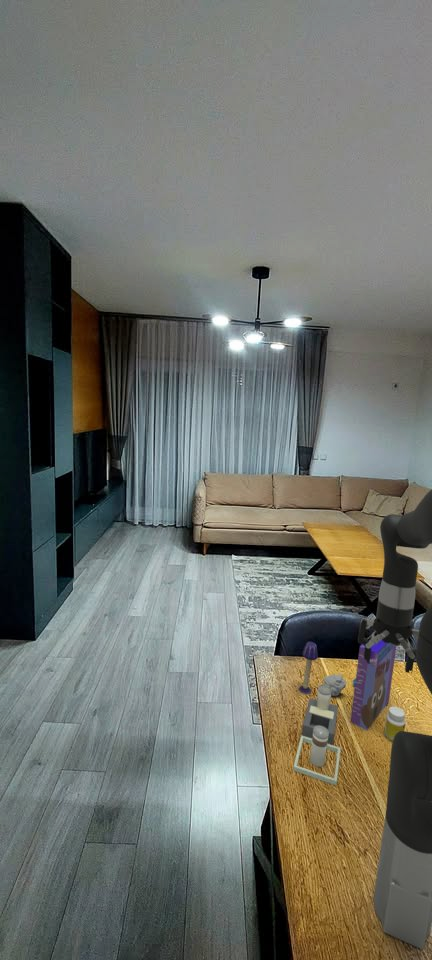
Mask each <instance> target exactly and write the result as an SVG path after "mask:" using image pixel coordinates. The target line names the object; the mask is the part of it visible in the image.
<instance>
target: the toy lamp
mask: <svg viewBox="0 0 432 960" xmlns="http://www.w3.org/2000/svg"><path fill="white" fill-rule="evenodd" d="M301 653H302V654H301V655H302V657H304V658H305V659H306V661H305V669H304V675H303V683H302V685H300V686H299V688H298V691H299V692H300V693H301V694H304V695H309V694H311V693H312V689H311V688H310V687H309V683H310V679H311V670H312V664H313V662H312V661H315V660H317V659H318V658H319V656H318V654H319V653H318V648H317V644H316V643H315V642H313V641H307V642H306V643H305V646H304V648H303V650H302V652H301Z"/></svg>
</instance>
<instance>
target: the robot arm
mask: <svg viewBox="0 0 432 960" xmlns="http://www.w3.org/2000/svg"><path fill="white" fill-rule="evenodd" d="M379 528H380V529H379V530H380V536H381V541H382V547H383V555H384V556H383V557H384V558H383V559H384V561H383V570H382V572H383V573H382V579H381V584H380V586H379V592H378V600H377V607H376V608H377V609H376V614H375V615H376V617H375V618H374V619H368V617H367V616H365V615H363V616H362V617H361V620H360V625H359V630H358V635H357V643H358V644H360V645H362V644H363V645H364V646H365V651H364V659H365V660H367V661H366V662H367V663H370V656H371V647H372V646H373V645H374V644H377V643H378V642H379V641H381V640H382V641H383V642H385V643H392V644H394V645H397V646H399V645H401V646H402V648H403V650H404V651H405V652H406V659H405V664H404V665H405V667H404V668H405V669H404V671H405V673H407V674H410V672H413V669H414V663H415V661H416V666H417V669H418V671H419V674H420V675H421V679H422V680H423V682H424V683H425V685H426V687H427V689H428V691H429V693H430V694H431V696H432V604H431V605H430V607H428V608H427V610H426V612H425V613H424V615H423V616H422V618H421V620H420V623H419V628H418V629H415V628H413V627H412V622H413V614H414V609H415V600H416V583H417V579H418V571H419V563H418V562H417V560H416V559H415V558H413V557H410V556H407V555H405V554H403V553H400V552H398V551H397V547H401V548H408V549H409V548H410V549H411V548H412V549H427V548H428V547H429V545H431V544H432V489H431V490H429V491H428V492H427V493H426V494H425V495H424V497H423V498H422V499H421V501H420V502H419V503H418V504H417V506H416V508H415V509H414V510H411V511H410V512H407V513H405V514H403V515H401V514H393V513H390V514H387V515H385V516H384V517H383V519H382V520H381V522H380V526H379ZM371 626H372V627H373V629H374V632H372V633H371V635H370V636H369V637H367V638H366V637H365V635H366V630H368V629H370V627H371ZM412 636H413V637H415V640H416V641H417V643H416V649H414V648H413V646H412V645H411V643H410V641H409V638H411V637H412ZM391 743H392V744H391V750H390V760H389V761H390V762H389V764H390V765H389V775H388V785H387V795H386V796H387V797H386V808H385V809H386V810H385V815H384V823H383V831H382V837H381V844H380V850H379V851H380V852H379V857H378V858H379V859H378V865H377V869H376V870H377V872H376V878H375V885H374V893H373V906H374V909H375V912H376V915H377V917H378V919H379V921H380V922H381V925H382V931H383V933H384V934H387V935H389V936H392V937H393V938H395V939H398V940H400V941H402V942H405V943H407V944H409V945H412V946H413V947H416V948H418V949H420V950H424V948H425V942H426V940H427V939H428V938H429V936H430V934H431V929H432V735H429V734H424V733H418V732H411V731H405V730H404V731H399V732H398V733H397V734H396V735H395V737H394V739H393V742H391Z"/></svg>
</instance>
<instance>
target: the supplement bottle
mask: <svg viewBox="0 0 432 960" xmlns="http://www.w3.org/2000/svg"><path fill="white" fill-rule="evenodd" d="M387 712H388V713H387V714H386V718H385V724H384V731H383V735H384V737H385V739H387V740H388V741H390V742H391V743H393V739H394V737H395V735H396V734H397V733H398V732H399V731H405V728H406V720H405V718H406V717H405V716H406V715H405V714H406V712H405V711H404V710H403V709H402V708H400V707H397V706H391V707H388V711H387Z"/></svg>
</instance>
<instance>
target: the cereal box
mask: <svg viewBox="0 0 432 960" xmlns="http://www.w3.org/2000/svg"><path fill="white" fill-rule="evenodd" d="M397 646H398V645H394V644H392V643H385V642H383V641H382V640H381V641H379V642H378V643H377V644H374V645H373V646H372V647H371V656H370V663H367V662H366V661H367V660H365V659H364V651H365V646H364V645H363V644H360V645H359V650H358V659H357V660H358V661H357V665H356V666H357V668H356V675H355V678H356V681H355V686H354V691H353V699H352V706H351V715H350V723H351V724H353V725H356V726H357V727H359V728H361V729H363V730H365V731H369V729H370V728H371V726H372V725H373V724H374V722H375V721H376V720H377V719H378V716H379V715H380V714H381V713H382V711H383V710H384V708H385V707H388V706H389V702H390V697H391V689H392V681H393V675H394V674H393V673H394V668H395V667H394V666H395V659H396V654H397V653H396V652H397Z"/></svg>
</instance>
